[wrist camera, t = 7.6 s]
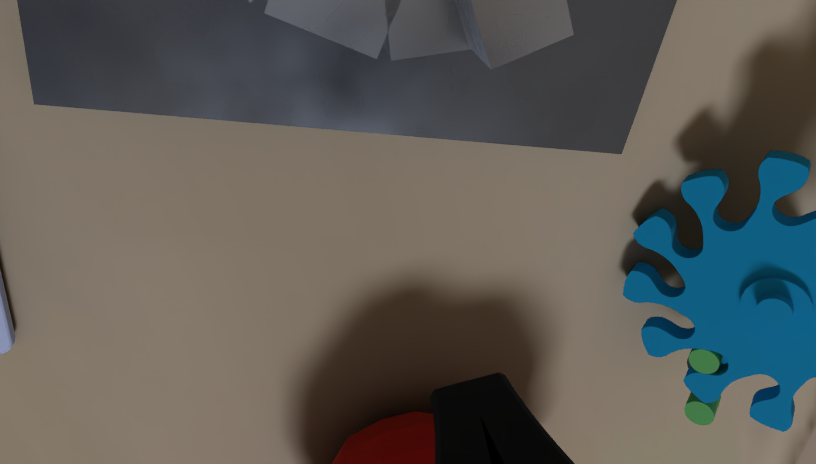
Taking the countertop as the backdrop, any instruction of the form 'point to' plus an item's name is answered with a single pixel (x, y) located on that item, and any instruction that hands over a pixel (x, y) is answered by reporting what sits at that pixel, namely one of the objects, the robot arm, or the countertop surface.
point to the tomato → (392, 441)
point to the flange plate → (342, 72)
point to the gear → (737, 293)
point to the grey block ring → (432, 25)
